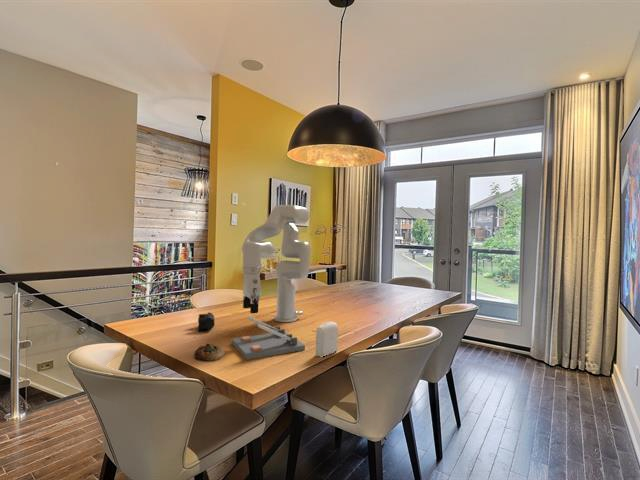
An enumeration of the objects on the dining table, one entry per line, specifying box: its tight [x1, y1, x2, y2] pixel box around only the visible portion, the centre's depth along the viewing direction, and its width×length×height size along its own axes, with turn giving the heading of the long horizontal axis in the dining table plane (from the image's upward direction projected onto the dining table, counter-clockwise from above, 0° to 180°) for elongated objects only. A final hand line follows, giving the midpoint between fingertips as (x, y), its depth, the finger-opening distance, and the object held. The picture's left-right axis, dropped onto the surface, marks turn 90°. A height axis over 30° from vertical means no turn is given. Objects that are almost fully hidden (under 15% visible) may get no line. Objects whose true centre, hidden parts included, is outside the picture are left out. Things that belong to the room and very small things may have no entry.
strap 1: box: [247, 315, 281, 332], centre depth 143 cm, size 17×3×2 cm, turn 121°
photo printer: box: [315, 321, 339, 358], centre depth 132 cm, size 10×4×12 cm, turn 140°
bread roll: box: [194, 343, 225, 362], centre depth 126 cm, size 11×11×5 cm
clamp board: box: [231, 325, 306, 361], centre depth 137 cm, size 24×20×5 cm
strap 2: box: [256, 324, 293, 342], centre depth 133 cm, size 17×3×2 cm, turn 121°
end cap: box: [197, 312, 215, 333], centre depth 159 cm, size 10×7×7 cm
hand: (250, 310), depth 144 cm, fingers open, 9 cm apart
